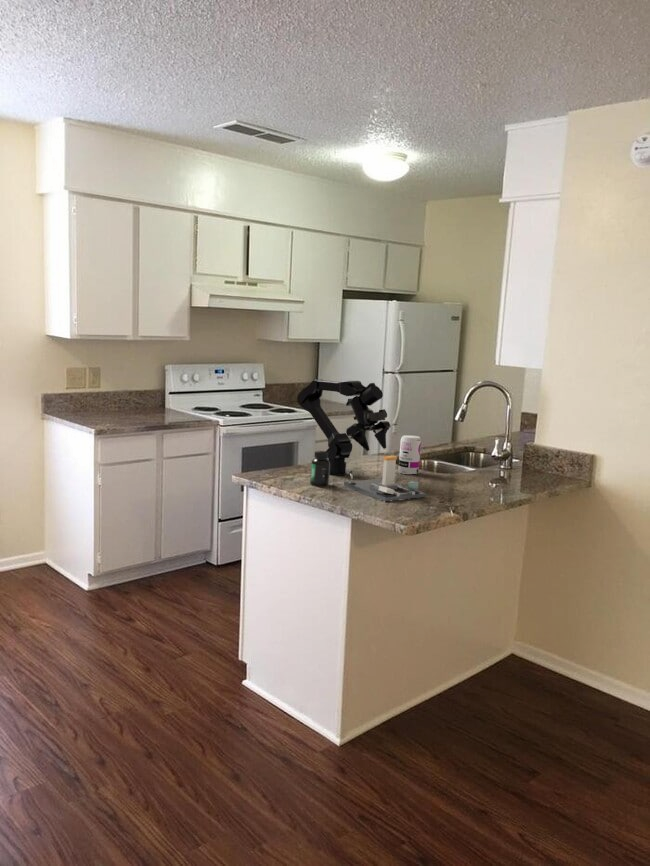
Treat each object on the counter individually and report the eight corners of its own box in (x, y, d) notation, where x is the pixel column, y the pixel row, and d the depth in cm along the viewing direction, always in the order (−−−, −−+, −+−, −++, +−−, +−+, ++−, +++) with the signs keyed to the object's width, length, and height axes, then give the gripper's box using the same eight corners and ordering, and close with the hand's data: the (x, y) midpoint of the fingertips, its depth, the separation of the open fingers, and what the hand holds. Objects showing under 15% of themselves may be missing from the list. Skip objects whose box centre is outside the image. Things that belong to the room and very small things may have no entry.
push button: (406, 487, 254) (406, 481, 253) (413, 487, 256) (414, 481, 255) (412, 490, 251) (412, 484, 250) (419, 489, 253) (420, 483, 252)
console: (343, 485, 262) (344, 479, 262) (382, 482, 272) (383, 475, 272) (384, 502, 242) (385, 494, 242) (425, 497, 252) (426, 490, 252)
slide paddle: (377, 486, 256) (380, 455, 254) (388, 485, 259) (391, 455, 257) (386, 490, 252) (389, 458, 250) (397, 489, 255) (399, 457, 253)
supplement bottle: (311, 486, 258) (313, 453, 256) (308, 482, 264) (310, 450, 262) (330, 487, 259) (332, 454, 257) (327, 482, 265) (329, 450, 264)
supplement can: (418, 472, 294) (421, 435, 292) (418, 476, 286) (421, 439, 284) (398, 470, 295) (400, 434, 293) (398, 474, 287) (401, 437, 285)
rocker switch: (378, 489, 247) (379, 485, 247) (385, 491, 249) (386, 487, 249) (386, 492, 244) (387, 488, 244) (393, 494, 246) (394, 490, 246)
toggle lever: (350, 480, 260) (348, 470, 261) (352, 480, 261) (351, 470, 262) (351, 479, 259) (350, 470, 260) (354, 479, 260) (352, 469, 261)
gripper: (358, 402, 258) (374, 442, 254) (392, 400, 271) (408, 438, 267) (338, 416, 265) (353, 455, 261) (373, 413, 278) (387, 450, 274)
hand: (376, 449), depth 266 cm, fingers open, 9 cm apart
